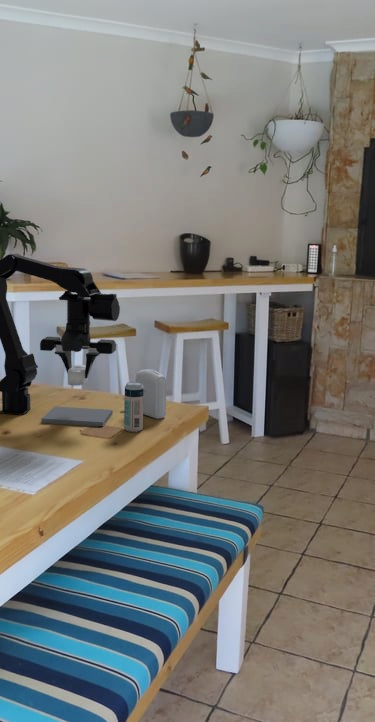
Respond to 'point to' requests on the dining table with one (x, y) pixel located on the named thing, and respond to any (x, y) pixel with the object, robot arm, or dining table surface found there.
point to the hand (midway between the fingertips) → (78, 377)
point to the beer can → (133, 407)
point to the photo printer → (153, 393)
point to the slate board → (77, 416)
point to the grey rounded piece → (77, 375)
